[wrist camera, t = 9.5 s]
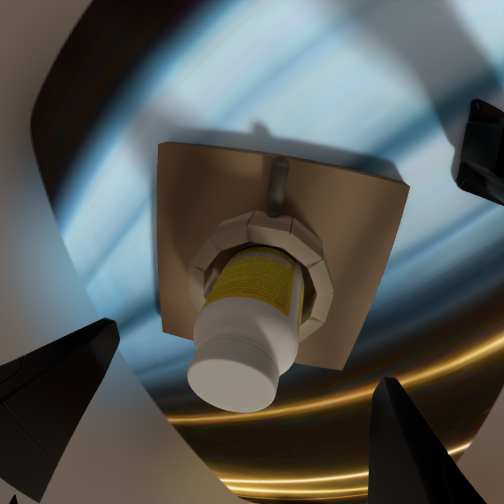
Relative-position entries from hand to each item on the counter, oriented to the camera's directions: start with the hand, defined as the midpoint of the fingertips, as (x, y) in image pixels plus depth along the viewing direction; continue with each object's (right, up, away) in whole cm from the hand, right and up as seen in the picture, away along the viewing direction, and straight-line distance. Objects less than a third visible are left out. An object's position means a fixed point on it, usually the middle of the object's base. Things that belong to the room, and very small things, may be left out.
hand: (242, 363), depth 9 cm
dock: (+1, +2, +13) cm, 13 cm away
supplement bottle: (+1, +2, +12) cm, 12 cm away
